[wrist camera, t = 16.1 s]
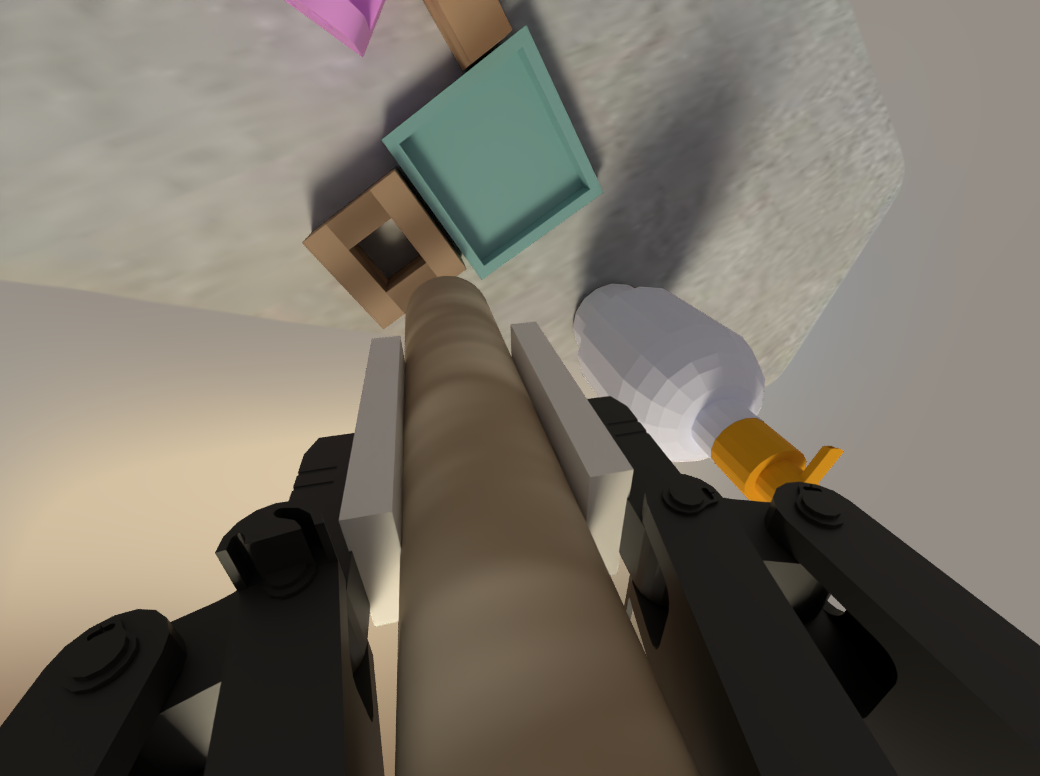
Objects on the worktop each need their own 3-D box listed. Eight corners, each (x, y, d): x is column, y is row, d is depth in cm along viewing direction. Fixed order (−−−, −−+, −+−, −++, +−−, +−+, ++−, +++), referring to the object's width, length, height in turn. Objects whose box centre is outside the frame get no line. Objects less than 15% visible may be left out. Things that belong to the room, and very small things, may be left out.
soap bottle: (675, 282, 41) (934, 429, 21) (629, 374, 45) (807, 570, 25) (581, 252, 38) (784, 395, 17) (542, 355, 42) (667, 565, 22)
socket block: (311, 232, 32) (302, 242, 29) (395, 166, 31) (394, 170, 28) (385, 313, 36) (383, 329, 33) (461, 257, 35) (466, 269, 33)
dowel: (412, 358, 17) (421, 1162, 4) (399, 279, 16) (330, 1212, 2) (491, 349, 18) (743, 1021, 4) (486, 272, 16) (870, 976, 3)
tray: (382, 139, 30) (381, 139, 28) (518, 31, 29) (526, 24, 27) (477, 272, 36) (481, 279, 35) (593, 189, 35) (603, 192, 33)
